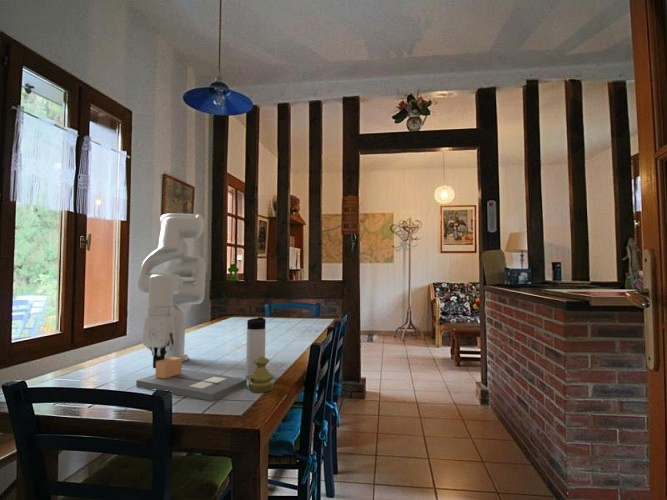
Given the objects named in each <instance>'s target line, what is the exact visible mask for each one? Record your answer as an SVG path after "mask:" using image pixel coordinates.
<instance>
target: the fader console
mask: <svg viewBox="0 0 667 500" xmlns="http://www.w3.org/2000/svg"><path fill="white" fill-rule="evenodd" d="M155 375H156V373H155V374H153V375H152V374H151V375H149V376H146V377H142V378H140V379H136V380H135V381H136V384H135V386H139V387H138V388H140V387H144V388H143V389H146V388H149V389H148V390H151V389H156V390H168V391H172V393H173V394H172V395H177V396H183V397H188V398H193V399H198V400H204V401H208V402H214V401H217V400H218V399H221V398H223V397H225V396H227V395H229V394H232V393H234V392H236V391H238V390H240V389H243V388H245V387H247V385H248V379H247V378H242V377H234V376H228V375H222V374H215V373H210V372H209V373H208V372H203V371H197V370H192V369H191V370H189V369H185V368H182V373H181V374H178V375H175V376H172V377H168V378H165V379H163V378H158V377H155ZM156 390H155V391H156Z"/></svg>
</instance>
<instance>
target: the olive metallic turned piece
mask: <svg viewBox="0 0 667 500" xmlns="http://www.w3.org/2000/svg"><path fill="white" fill-rule="evenodd" d="M253 362H254V363H255V364H256V365H257V368H256V369H255V370H254V371H253V372H252V373H251V374H250V375H249V379H248V380H249V381H248V390H249V391H250V392H251V393H256V394H259V393H262V394H263V393H267V392H270V391H271V390H272V391H273V388H274V382H273V379H274V375H273V373H272V372H271V371H269V369H268V368H267V367H266V366H267V364H269V363H270V359H269V358H267V357H266V356H265V357H264V356H259V357H258V358H256V359H254V360H253Z"/></svg>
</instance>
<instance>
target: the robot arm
mask: <svg viewBox="0 0 667 500" xmlns="http://www.w3.org/2000/svg"><path fill="white" fill-rule="evenodd" d="M159 225H160V227H159V228H160V233H159V238H158V243H157V244H158V246H157V249H155V250H153V251H152V252H151V253H150V254H149V255H148V256H147V257H146V258H145V259H144V260H143V262H142V263H141V266H140V269H139V274H138V280H137V288H138V291H139V293H140V294H142V295H145V296H146V295H147V296H148V297H147V298H148V301H147V302H148V303H147V315H146V316H145V319H144V324H143V333H142V345H143V346H145V347H146V349H149V350H150V352H151V356H152V368H153V369H156V361H159V360H163V359H166V358H170V357H178V358H182V362H186V361H187V360H188V359H189V355H188V354H185V345H186V344H185V342H186V341H185V340H186V337H185V336H186V314H185V312H184V310H183V309H182V308H181V306H180V305H182V306H183V305H199V304H201V303H203V301H204V299H205V294H206V293H205V291H206V261H205V260H204V258H203V257H202V256H199V255H195V256H194V255H188V250H189V246H188V243H187V242H186V240H184V239H198V238H200V237H201V235H202V234H203V232H204V229H205V219H204V217H203V216H202V214H199V213H179V212H170V213H164V214H162V215H161V216H160V218H159ZM162 264H164V272H161V273H159V272H155V273H154V272H151V271H152V270H153V269H155V267H158V266H159V265H162ZM183 279H184V280H183ZM186 279H187V280H186ZM191 279H192V280H191Z"/></svg>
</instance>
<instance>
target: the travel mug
mask: <svg viewBox="0 0 667 500" xmlns="http://www.w3.org/2000/svg"><path fill="white" fill-rule="evenodd" d="M246 323H247V325H246V326H247V327H246V359H245V362H246V363H245V364H246V365H245V366H246V367H245V368H246V369H245V372H246V373H245V379H247V380H249V375H250V374H251V373H252V372H253V371H254V370H255V369H256V368H257V365H256V364H255V363H254V362H253V360H254V359H256V358H258V357H259V356H264V357H265V358H266V324H267V323H266V318H265V317H257V318H250V319H248V320H247V321H246Z"/></svg>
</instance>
